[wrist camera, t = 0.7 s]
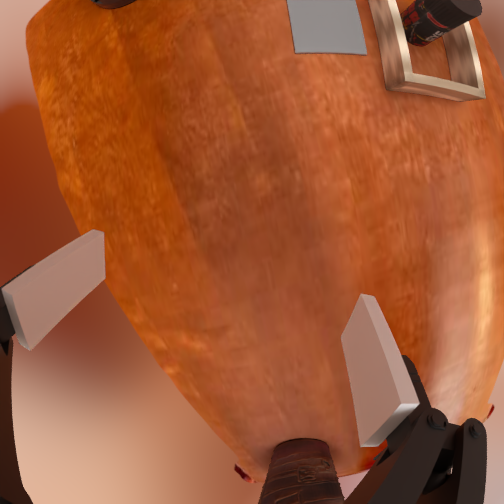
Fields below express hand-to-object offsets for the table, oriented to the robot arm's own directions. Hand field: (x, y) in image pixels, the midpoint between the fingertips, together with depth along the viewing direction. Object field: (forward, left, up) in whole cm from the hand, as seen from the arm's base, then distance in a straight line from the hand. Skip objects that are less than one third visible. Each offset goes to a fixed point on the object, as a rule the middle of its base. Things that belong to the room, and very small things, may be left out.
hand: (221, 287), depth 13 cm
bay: (-22, +25, -27) cm, 43 cm away
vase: (+69, +6, -27) cm, 74 cm away
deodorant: (-25, +25, -27) cm, 45 cm away
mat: (-24, +11, -27) cm, 38 cm away
